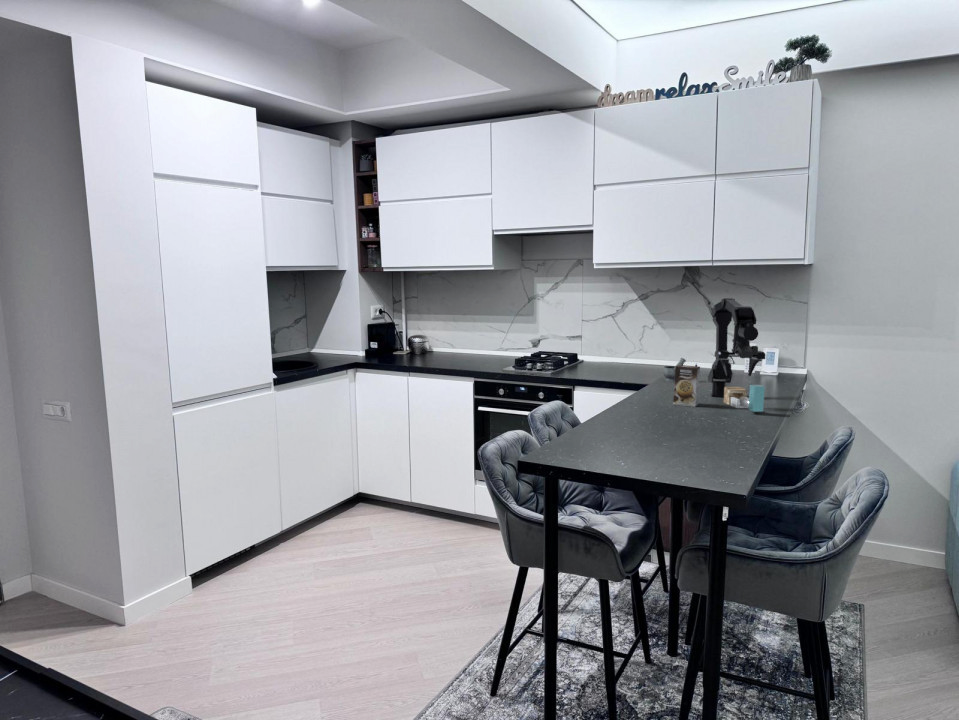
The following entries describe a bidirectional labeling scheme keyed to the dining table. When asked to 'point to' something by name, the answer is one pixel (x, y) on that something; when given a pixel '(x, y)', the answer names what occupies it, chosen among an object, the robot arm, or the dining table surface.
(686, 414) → the dining table surface
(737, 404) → the white notched block
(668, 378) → the mortar and pestle
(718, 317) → the robot arm
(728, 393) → the socket
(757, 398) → the teal and silver mallet
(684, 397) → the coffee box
